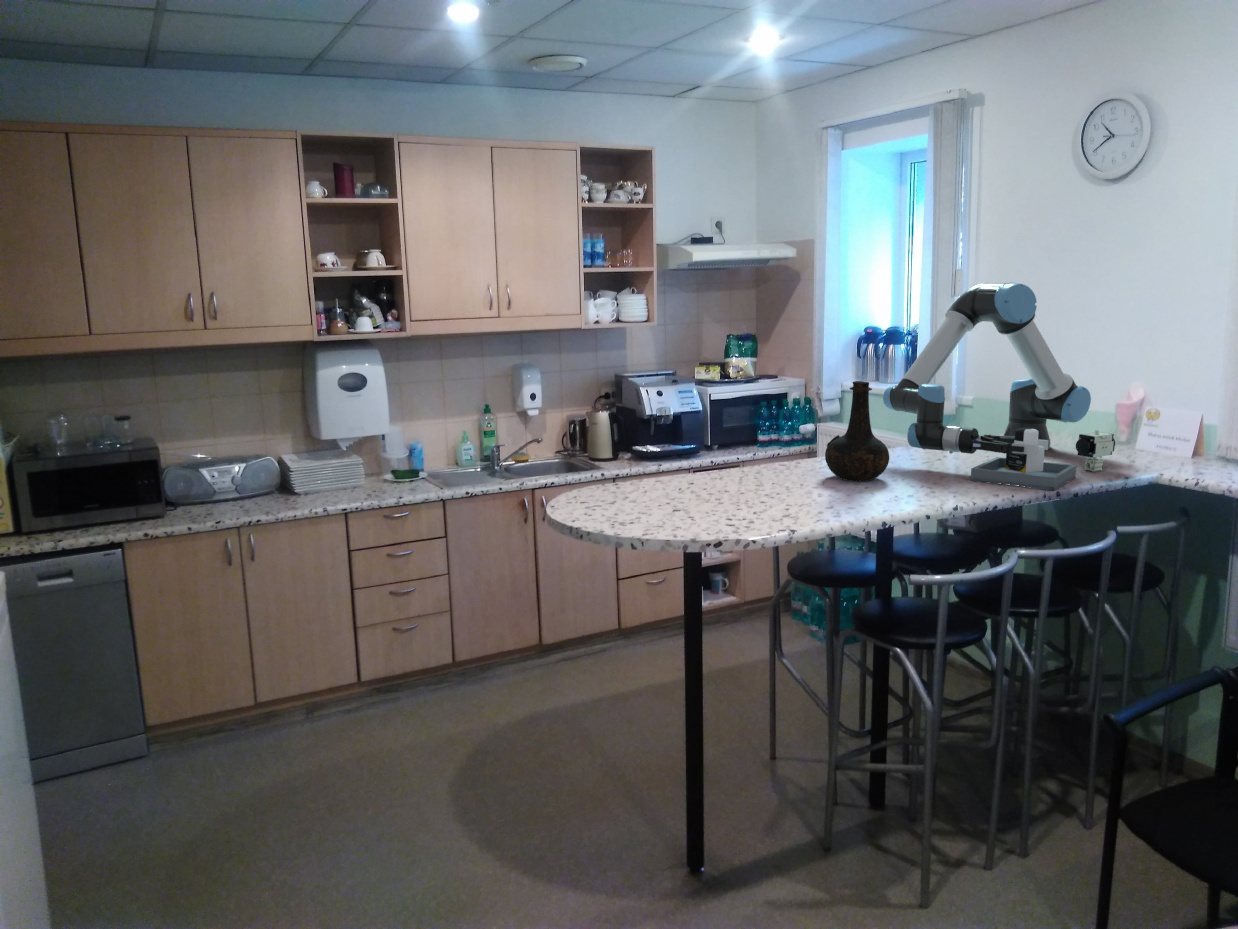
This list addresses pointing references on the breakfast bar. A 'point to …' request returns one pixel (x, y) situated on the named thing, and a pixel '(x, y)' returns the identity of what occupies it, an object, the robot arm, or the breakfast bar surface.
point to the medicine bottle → (1025, 461)
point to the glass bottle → (857, 443)
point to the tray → (1045, 480)
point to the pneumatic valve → (1095, 448)
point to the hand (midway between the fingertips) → (1042, 447)
